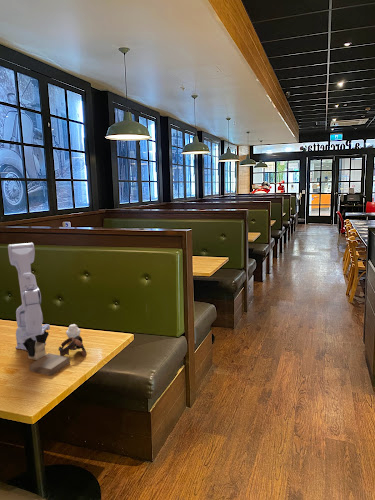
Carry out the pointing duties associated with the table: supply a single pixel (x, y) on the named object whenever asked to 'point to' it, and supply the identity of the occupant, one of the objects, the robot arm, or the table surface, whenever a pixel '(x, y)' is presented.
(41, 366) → the grey flat square block
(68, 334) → the white rounded piece
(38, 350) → the maple cube
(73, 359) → the table surface
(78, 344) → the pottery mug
